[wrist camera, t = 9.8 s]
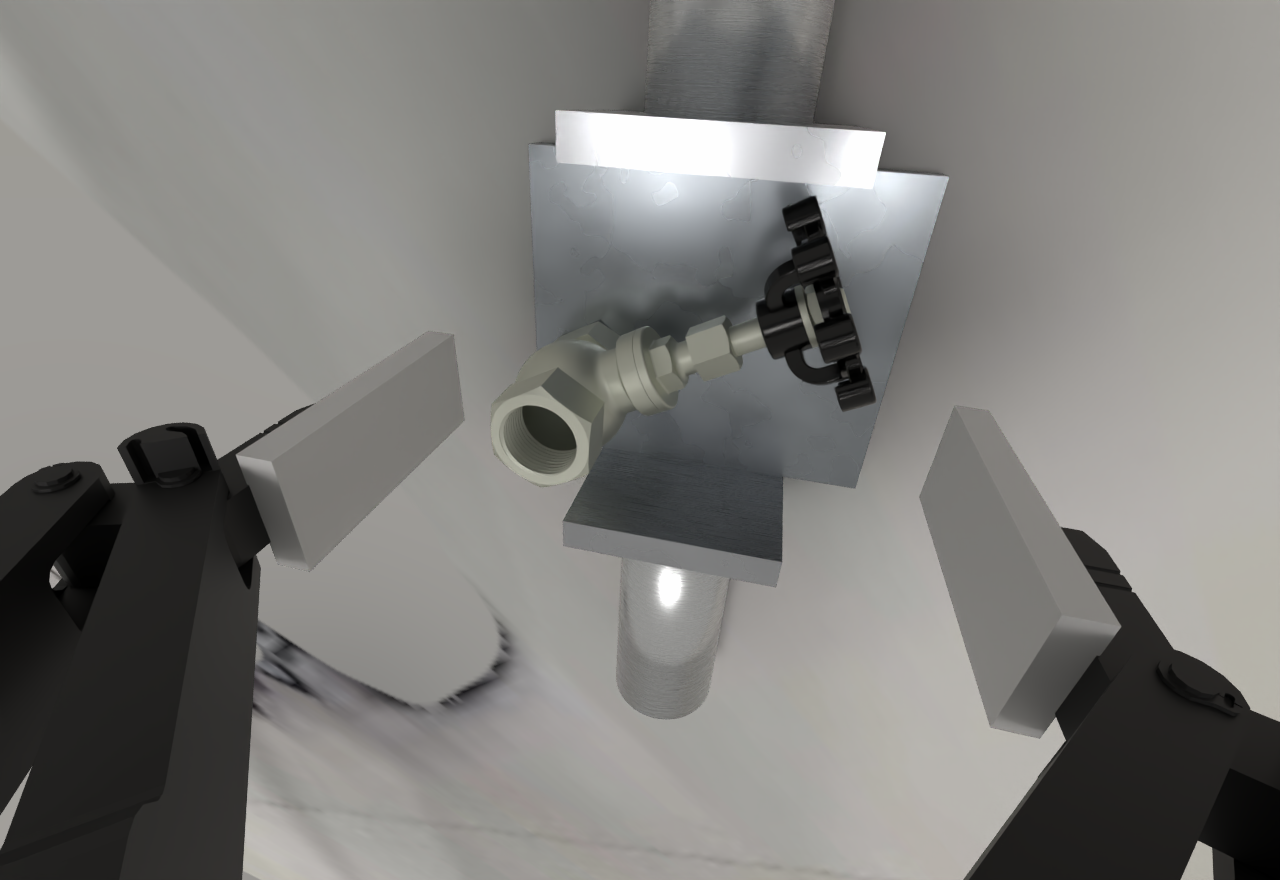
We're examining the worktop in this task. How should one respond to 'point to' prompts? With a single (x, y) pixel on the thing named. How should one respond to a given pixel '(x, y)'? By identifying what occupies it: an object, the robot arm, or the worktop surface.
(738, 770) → the worktop surface
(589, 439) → the valve
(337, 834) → the worktop surface
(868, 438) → the pipe run
